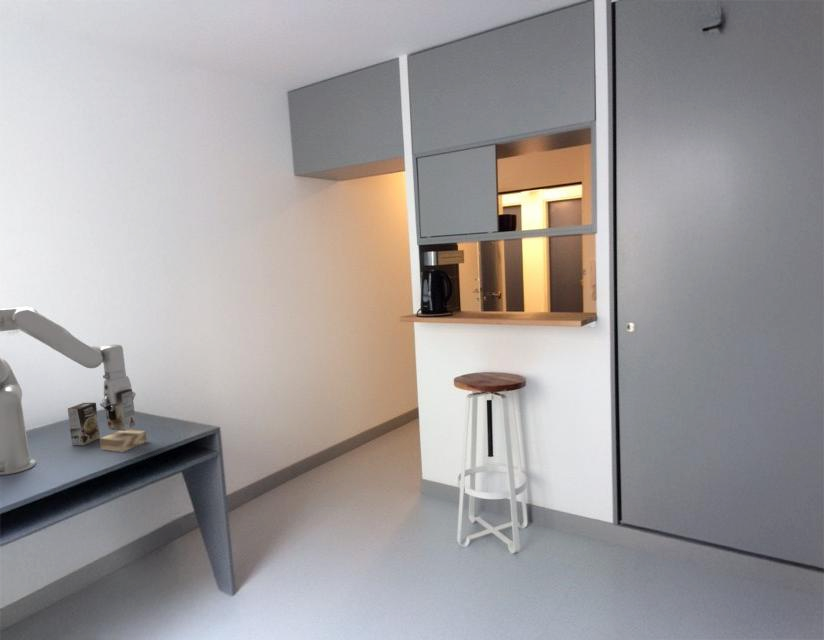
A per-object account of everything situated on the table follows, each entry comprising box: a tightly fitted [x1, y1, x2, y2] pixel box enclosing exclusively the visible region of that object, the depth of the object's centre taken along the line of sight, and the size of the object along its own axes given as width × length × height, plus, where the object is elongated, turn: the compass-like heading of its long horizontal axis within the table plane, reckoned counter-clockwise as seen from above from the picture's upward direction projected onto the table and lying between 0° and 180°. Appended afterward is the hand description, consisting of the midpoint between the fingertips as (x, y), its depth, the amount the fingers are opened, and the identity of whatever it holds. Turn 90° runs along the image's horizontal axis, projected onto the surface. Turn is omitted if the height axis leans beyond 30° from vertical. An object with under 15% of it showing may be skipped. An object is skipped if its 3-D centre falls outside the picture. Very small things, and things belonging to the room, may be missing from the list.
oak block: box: [99, 428, 148, 453], centre depth 221 cm, size 12×12×5 cm
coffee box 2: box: [105, 388, 137, 432], centre depth 219 cm, size 9×6×16 cm
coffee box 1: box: [67, 402, 101, 446], centre depth 227 cm, size 9×6×16 cm
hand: (120, 416), depth 220 cm, fingers closed on coffee box 2, 6 cm apart
